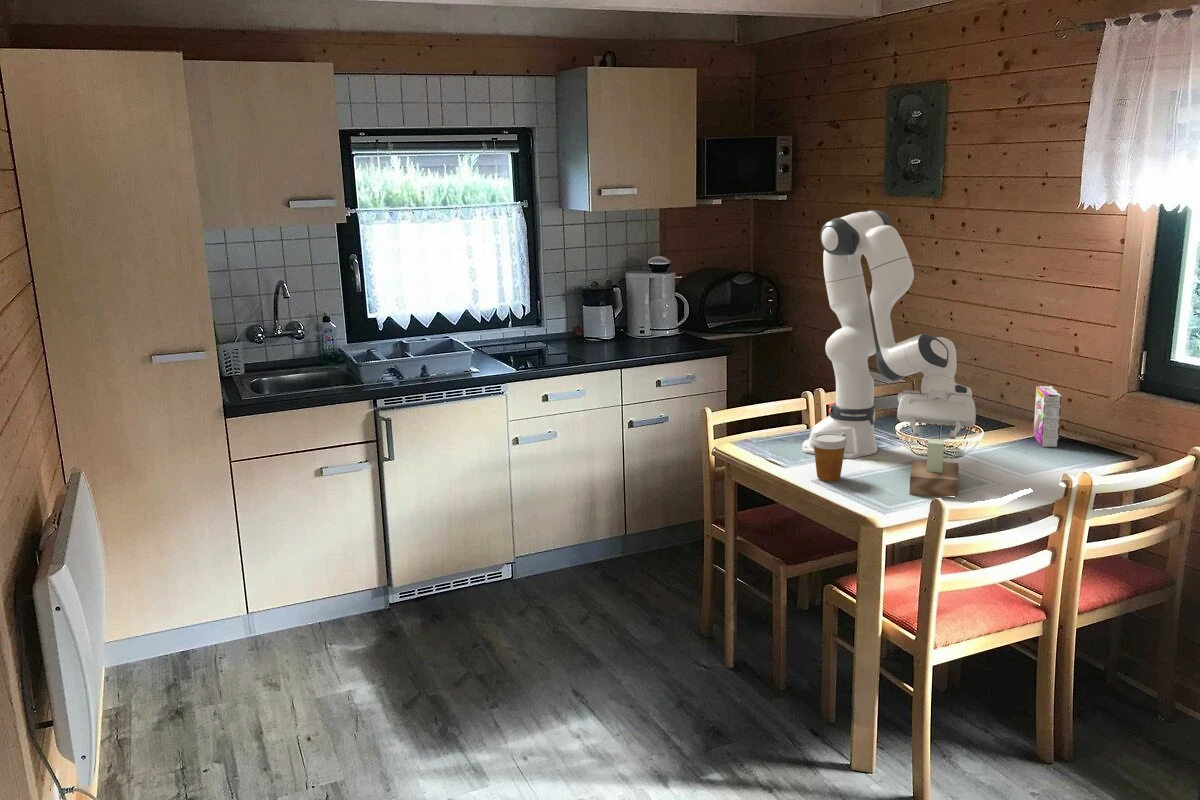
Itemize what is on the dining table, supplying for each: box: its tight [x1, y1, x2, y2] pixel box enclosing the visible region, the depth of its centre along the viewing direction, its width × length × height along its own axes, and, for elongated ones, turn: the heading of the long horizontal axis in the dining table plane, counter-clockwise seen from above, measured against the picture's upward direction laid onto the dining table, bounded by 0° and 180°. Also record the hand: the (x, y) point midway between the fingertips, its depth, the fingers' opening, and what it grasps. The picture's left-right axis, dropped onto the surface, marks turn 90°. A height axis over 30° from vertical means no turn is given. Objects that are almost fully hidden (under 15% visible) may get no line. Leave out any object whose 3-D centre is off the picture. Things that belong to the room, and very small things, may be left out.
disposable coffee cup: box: [812, 433, 847, 482], centre depth 266 cm, size 10×10×12 cm
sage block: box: [926, 438, 945, 473], centre depth 255 cm, size 4×4×8 cm
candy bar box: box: [1032, 385, 1062, 448], centre depth 289 cm, size 11×5×16 cm, turn 168°
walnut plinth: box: [908, 459, 960, 497], centre depth 256 cm, size 12×14×5 cm
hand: (934, 436), depth 256 cm, fingers open, 8 cm apart
